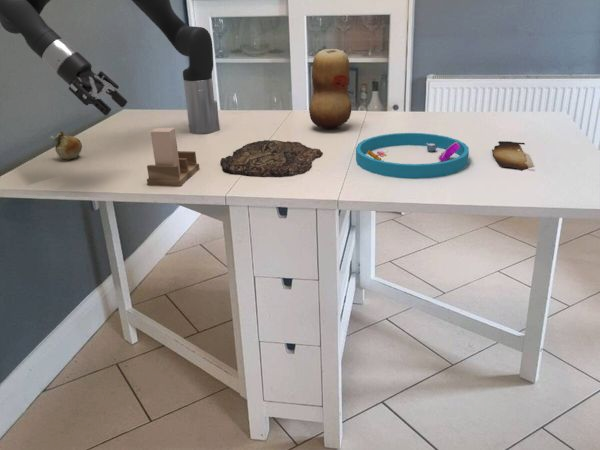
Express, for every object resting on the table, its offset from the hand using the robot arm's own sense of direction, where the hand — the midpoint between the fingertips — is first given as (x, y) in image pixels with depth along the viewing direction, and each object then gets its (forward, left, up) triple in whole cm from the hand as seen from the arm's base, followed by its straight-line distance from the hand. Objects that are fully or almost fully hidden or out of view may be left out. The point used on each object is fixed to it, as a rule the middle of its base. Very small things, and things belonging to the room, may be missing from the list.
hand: (117, 108), depth 148 cm
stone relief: (-38, +10, -19) cm, 44 cm away
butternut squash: (-70, -6, -19) cm, 73 cm away
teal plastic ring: (-67, +35, -19) cm, 78 cm away
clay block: (-8, +8, -17) cm, 21 cm away
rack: (-10, +6, -19) cm, 22 cm away
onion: (+8, -30, -19) cm, 36 cm away
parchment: (-90, +50, -19) cm, 105 cm away
